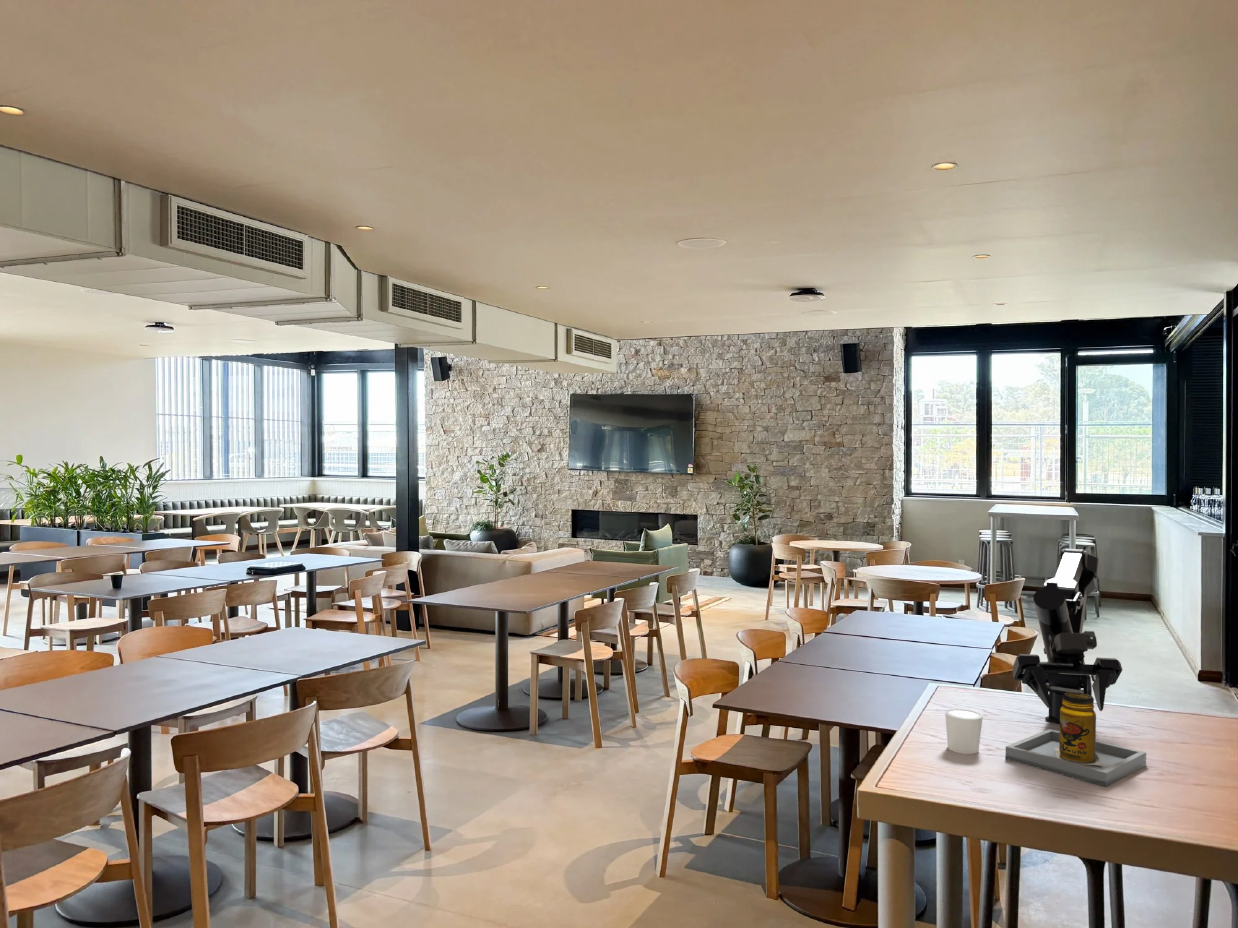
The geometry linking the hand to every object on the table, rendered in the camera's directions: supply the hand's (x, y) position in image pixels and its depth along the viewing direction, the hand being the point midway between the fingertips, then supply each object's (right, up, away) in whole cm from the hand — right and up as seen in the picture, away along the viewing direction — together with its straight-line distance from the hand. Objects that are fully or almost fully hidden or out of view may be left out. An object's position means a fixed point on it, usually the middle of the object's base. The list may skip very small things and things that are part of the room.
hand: (1075, 708), depth 171 cm
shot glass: (-19, -10, +6) cm, 22 cm away
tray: (-1, -10, -1) cm, 10 cm away
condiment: (0, -9, -1) cm, 9 cm away
